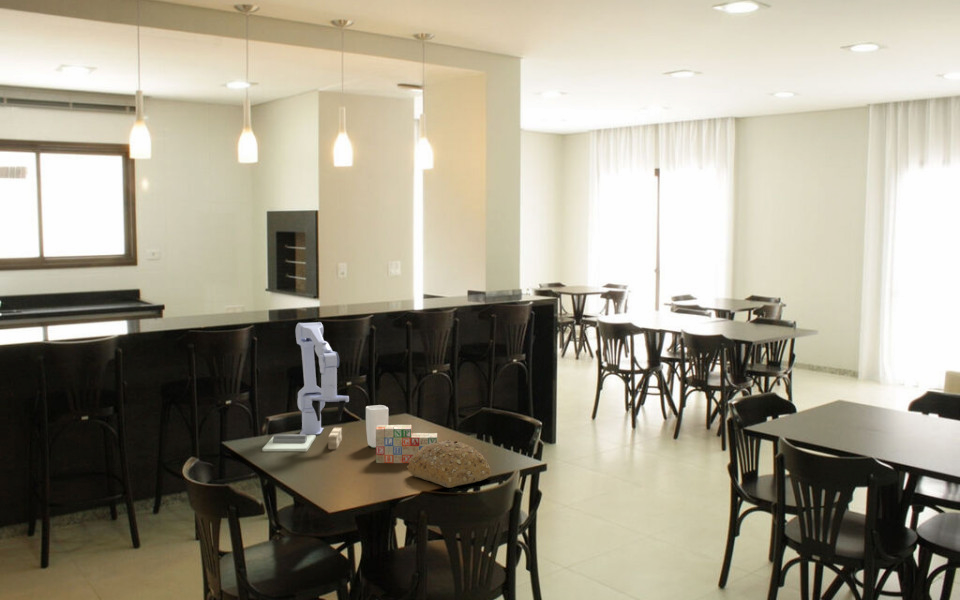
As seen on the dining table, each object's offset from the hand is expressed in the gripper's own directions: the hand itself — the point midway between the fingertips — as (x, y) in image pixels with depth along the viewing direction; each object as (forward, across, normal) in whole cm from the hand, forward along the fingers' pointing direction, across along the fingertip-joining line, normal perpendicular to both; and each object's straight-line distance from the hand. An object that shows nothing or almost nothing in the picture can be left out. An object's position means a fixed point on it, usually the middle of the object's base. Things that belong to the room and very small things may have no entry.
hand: (329, 420), depth 304 cm
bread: (+10, +46, -40) cm, 61 cm away
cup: (+10, +18, -1) cm, 20 cm away
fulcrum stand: (+10, -15, +1) cm, 18 cm away
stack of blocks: (+10, +30, -20) cm, 38 cm away
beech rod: (+10, +2, +2) cm, 10 cm away
